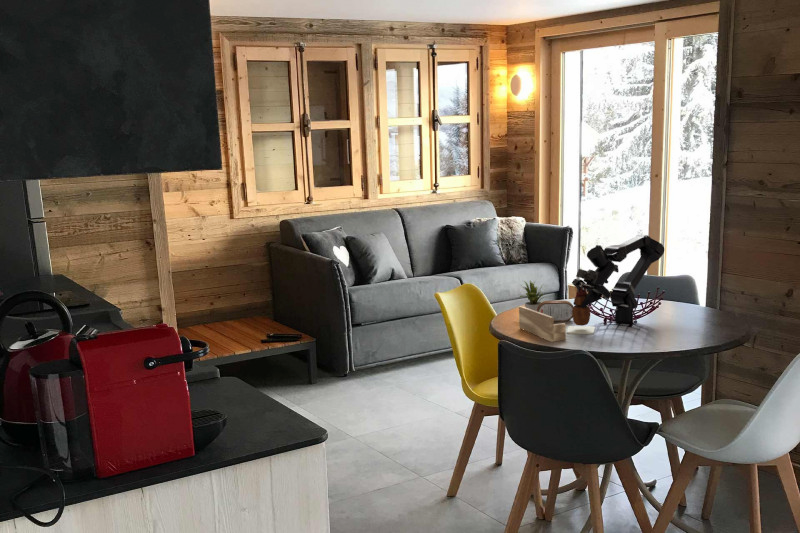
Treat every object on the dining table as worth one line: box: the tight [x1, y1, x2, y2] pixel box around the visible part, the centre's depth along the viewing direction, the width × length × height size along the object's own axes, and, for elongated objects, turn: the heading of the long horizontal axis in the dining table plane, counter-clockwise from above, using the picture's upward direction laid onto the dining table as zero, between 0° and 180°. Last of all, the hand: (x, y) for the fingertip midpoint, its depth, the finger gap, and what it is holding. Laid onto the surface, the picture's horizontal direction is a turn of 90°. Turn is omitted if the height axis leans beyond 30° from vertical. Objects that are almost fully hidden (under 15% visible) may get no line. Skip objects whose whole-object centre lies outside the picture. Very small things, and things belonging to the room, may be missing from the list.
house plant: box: [518, 279, 549, 311], centre depth 328 cm, size 14×14×16 cm
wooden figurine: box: [572, 286, 591, 326], centre depth 301 cm, size 7×6×15 cm
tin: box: [537, 300, 574, 323], centre depth 320 cm, size 15×3×8 cm, turn 84°
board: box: [566, 325, 596, 335], centre depth 302 cm, size 10×10×1 cm
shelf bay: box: [518, 305, 567, 342], centre depth 299 cm, size 6×24×9 cm, turn 20°
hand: (577, 305), depth 300 cm, fingers closed on wooden figurine, 5 cm apart
